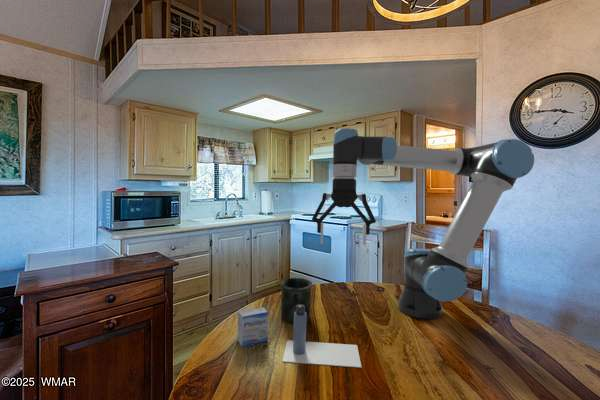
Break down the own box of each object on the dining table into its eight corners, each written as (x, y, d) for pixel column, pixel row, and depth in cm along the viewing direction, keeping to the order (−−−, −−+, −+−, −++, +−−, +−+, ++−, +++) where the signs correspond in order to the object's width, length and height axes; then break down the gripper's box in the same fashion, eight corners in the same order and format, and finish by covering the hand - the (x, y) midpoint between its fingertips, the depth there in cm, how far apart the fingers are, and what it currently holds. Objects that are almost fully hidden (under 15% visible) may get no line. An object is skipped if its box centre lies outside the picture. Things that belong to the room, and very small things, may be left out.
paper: (356, 345, 81) (356, 345, 81) (361, 367, 71) (361, 366, 71) (287, 340, 82) (287, 340, 82) (282, 361, 72) (282, 361, 72)
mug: (310, 310, 104) (311, 278, 103) (312, 330, 89) (313, 292, 88) (281, 309, 104) (281, 277, 103) (277, 329, 89) (278, 291, 89)
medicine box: (241, 347, 78) (241, 317, 78) (237, 340, 82) (237, 310, 82) (268, 341, 82) (268, 311, 82) (263, 334, 86) (263, 306, 86)
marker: (305, 348, 79) (307, 304, 78) (305, 355, 75) (306, 309, 75) (293, 347, 79) (295, 303, 78) (292, 354, 75) (293, 308, 75)
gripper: (304, 177, 88) (303, 244, 89) (386, 178, 86) (384, 247, 87) (306, 178, 96) (305, 240, 97) (381, 179, 94) (379, 243, 95)
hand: (342, 244), depth 92 cm, fingers open, 13 cm apart
